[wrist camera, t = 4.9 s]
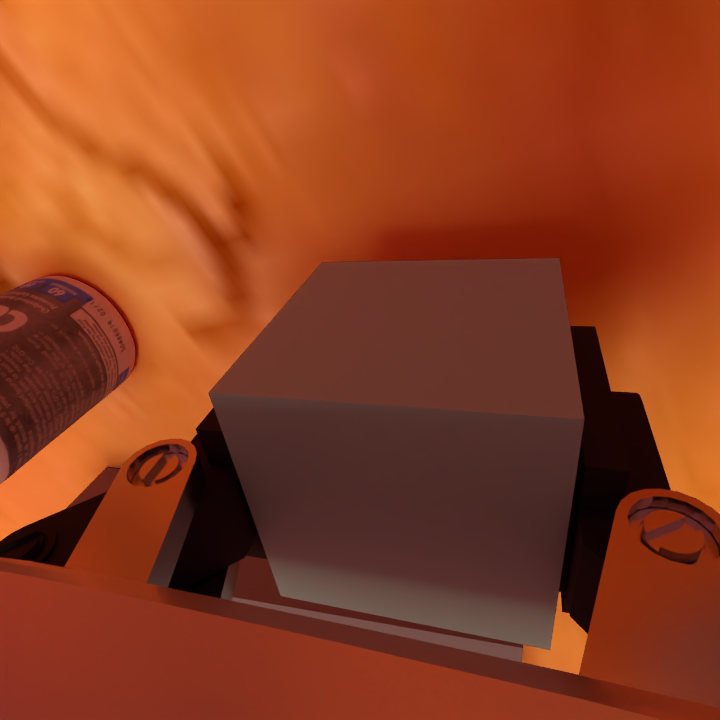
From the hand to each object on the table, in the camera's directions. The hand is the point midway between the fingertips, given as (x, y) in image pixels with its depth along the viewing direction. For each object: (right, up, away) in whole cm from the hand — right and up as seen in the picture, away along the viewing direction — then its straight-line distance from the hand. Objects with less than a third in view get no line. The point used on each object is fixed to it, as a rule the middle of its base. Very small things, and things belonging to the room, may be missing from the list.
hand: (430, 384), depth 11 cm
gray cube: (0, +1, +1) cm, 1 cm away
